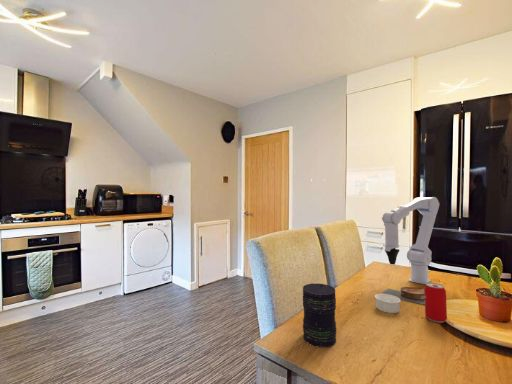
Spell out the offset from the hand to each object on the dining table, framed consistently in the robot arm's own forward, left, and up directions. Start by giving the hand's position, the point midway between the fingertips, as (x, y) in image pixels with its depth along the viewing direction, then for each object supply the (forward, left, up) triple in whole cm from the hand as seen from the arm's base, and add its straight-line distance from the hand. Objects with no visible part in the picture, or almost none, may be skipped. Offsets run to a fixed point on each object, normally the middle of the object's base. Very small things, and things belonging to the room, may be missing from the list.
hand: (392, 263), depth 125 cm
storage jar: (+68, -1, -11) cm, 69 cm away
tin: (+6, +11, -9) cm, 15 cm away
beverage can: (+29, +22, -11) cm, 38 cm away
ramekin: (+31, +7, -11) cm, 34 cm away
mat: (+12, +10, -10) cm, 19 cm away
